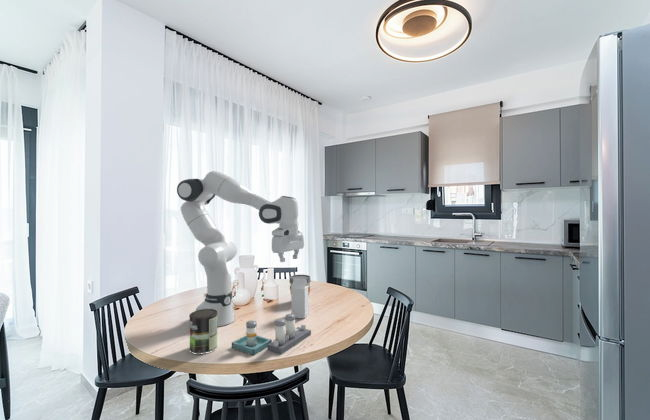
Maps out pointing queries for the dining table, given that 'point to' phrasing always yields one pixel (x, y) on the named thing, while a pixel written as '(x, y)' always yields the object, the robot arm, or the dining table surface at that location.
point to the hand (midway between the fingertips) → (289, 260)
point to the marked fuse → (251, 333)
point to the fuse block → (290, 340)
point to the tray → (241, 345)
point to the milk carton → (299, 298)
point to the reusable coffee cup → (300, 278)
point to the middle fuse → (290, 325)
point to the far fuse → (280, 331)
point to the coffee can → (203, 331)
